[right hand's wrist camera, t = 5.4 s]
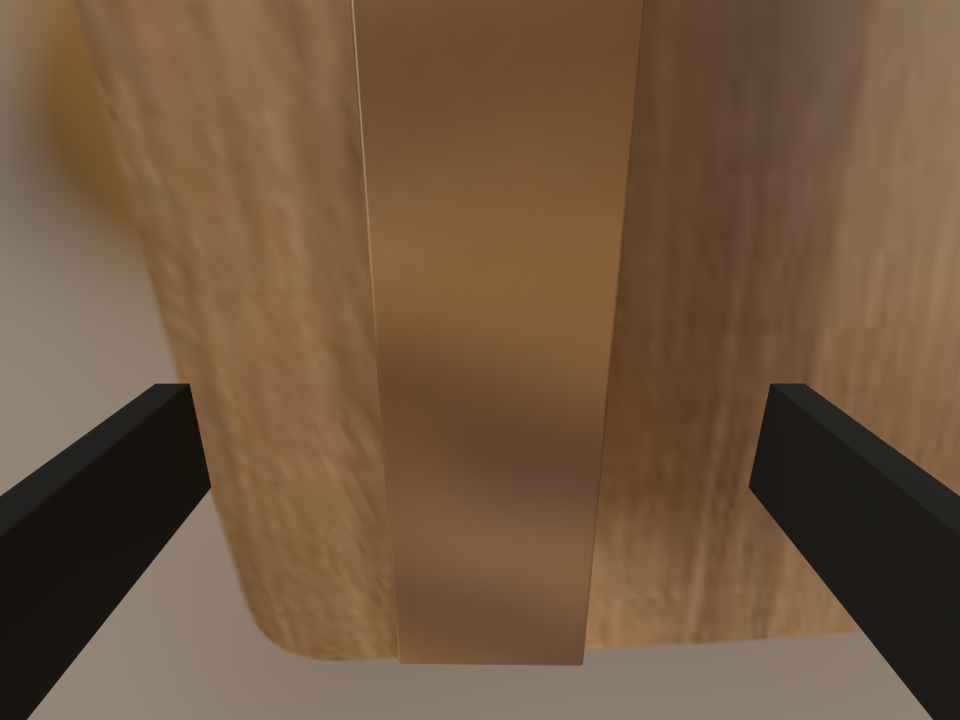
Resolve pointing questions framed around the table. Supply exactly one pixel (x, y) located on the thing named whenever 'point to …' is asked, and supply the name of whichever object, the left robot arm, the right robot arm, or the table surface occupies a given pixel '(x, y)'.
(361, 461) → the table surface
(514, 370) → the post
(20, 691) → the right robot arm
